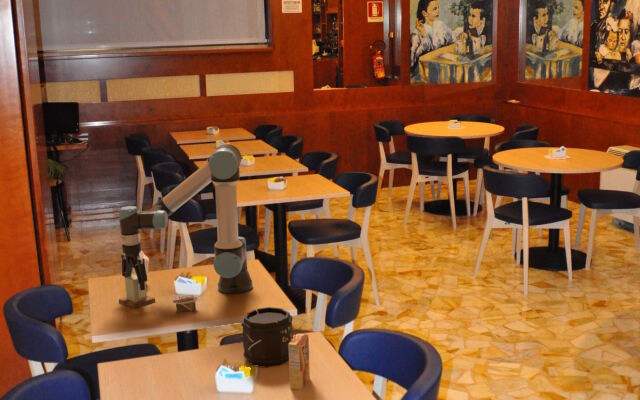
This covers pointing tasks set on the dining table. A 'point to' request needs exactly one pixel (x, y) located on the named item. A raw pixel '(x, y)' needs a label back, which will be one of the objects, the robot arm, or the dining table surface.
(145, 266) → the soft serve ice cream cone
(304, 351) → the candy box
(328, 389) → the dining table surface
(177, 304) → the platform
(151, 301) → the post base
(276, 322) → the wooden barrel
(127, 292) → the sage cap
